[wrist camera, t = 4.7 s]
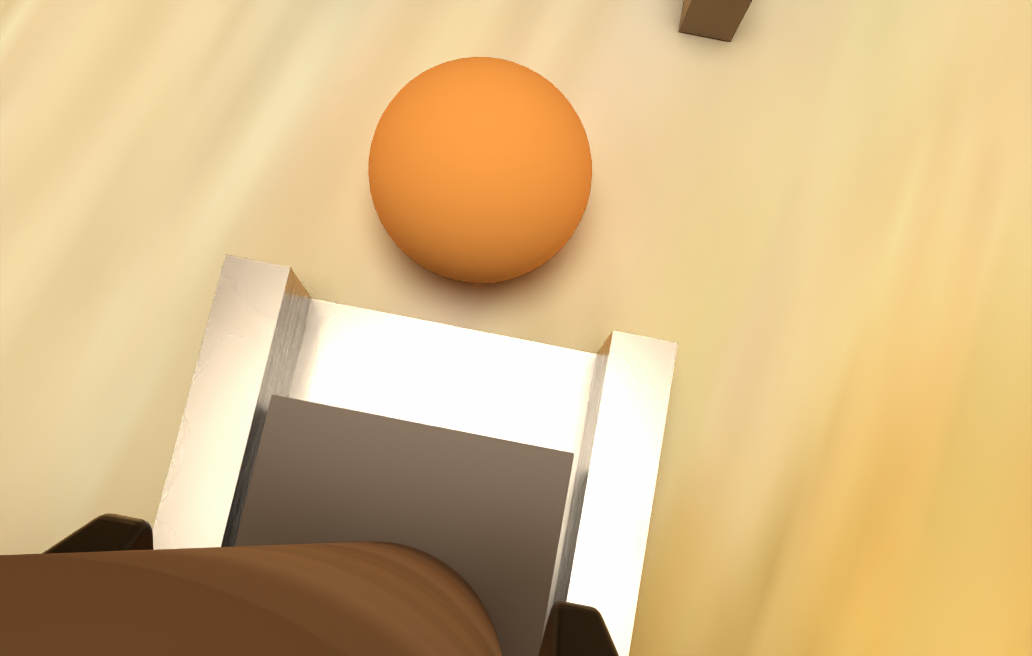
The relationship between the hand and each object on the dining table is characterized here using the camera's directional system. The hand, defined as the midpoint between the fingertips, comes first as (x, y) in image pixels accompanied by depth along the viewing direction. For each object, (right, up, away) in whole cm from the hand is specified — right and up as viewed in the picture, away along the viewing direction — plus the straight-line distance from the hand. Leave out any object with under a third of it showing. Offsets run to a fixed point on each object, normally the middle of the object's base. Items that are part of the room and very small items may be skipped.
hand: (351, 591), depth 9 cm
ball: (+1, +5, +7) cm, 9 cm away
